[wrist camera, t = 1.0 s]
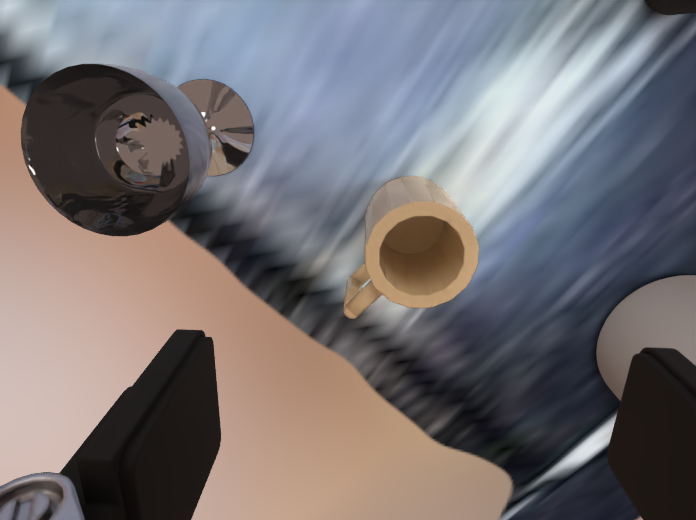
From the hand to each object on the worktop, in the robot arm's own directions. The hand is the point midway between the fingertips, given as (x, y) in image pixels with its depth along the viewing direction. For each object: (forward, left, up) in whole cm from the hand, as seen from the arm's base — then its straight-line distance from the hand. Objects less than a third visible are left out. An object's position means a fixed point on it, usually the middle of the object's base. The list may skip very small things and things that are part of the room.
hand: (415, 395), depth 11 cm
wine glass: (-3, -13, -28) cm, 31 cm away
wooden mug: (+5, +1, -28) cm, 28 cm away
